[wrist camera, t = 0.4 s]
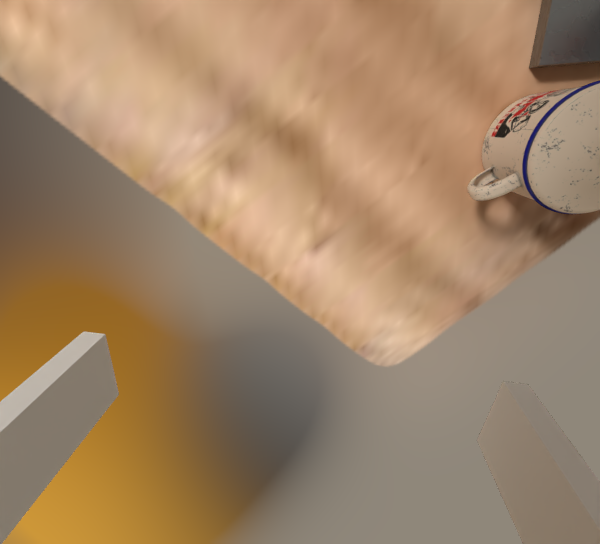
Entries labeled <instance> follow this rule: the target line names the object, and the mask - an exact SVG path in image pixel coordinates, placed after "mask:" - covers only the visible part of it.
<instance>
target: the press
mask: <svg viewBox="0 0 600 544" xmlns="http://www.w3.org/2000/svg"><path fill="white" fill-rule="evenodd" d="M599 62H600V0H542V4H541V9H540V15H539V20H538V25H537V30H536V35H535V40H534V45H533V51H532V56H531V61H530V66H529V68H538V67H550V66H562V65H574V64H587V63H599Z"/></svg>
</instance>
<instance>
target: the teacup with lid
mask: <svg viewBox="0 0 600 544" xmlns="http://www.w3.org/2000/svg"><path fill="white" fill-rule="evenodd" d="M482 163H483V167H484V170H485V171H483V172H481V173H480V174H478V175H477V176H475V177H474V178H473V179H472V180H471V181H470V183H469V184H468V188H467V189H468V193H469V195H470V197H471V198H472V199H474V200H477V201H485V200H490V199H494V198H497V197H500V196H503V195H505V194H507V193H509V192H514V193H516V194H519V195H522V196H524V197H527V198H529V199H532V200H535V201H536V202H537V203H539V204H540V205H541V206H543V207H545V208H547V209H549V210H551V211H554V212H558V213H564V214H581V213H589V212H594V211H598V210H600V81H596V82H593V83H590V84H588V85H585V86H583V87H578V88H571V89H564V90H557V91H550V92H544V93H537V94H532V95H529V96H526V97H524V98H521V99H519V100H518V101H516V102H514V103H513V104H511V105H510V106H508V107H507V108H506V109H505V110H503V111H502V112H501V113H500V114H499V115H498V117H497V118H496V119H495V120H494V122H493V123H492V125H491V126H490V128H489V130H488V132H487V134H486V136H485V139H484V142H483V147H482ZM492 181H493V182H494V183H492V184H489V183H490V182H492ZM487 184H489V185H487ZM485 185H486V186H485Z"/></svg>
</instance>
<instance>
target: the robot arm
mask: <svg viewBox="0 0 600 544" xmlns="http://www.w3.org/2000/svg"><path fill="white" fill-rule="evenodd" d="M118 395H119V393H118V388H117V384H116V379H115V375H114V371H113V366H112V362H111V357H110V353H109V349H108V344H107V340H106V336H105V334H100V333H91V332H83V333H82V334H80V335H79V336H78V337H77V338H75V339H74V340H73V341H72V342H71V343H70V344H68V345H67V346H66V347H65V348H64V349H63V350H61V351H60V352H59V353H58V354H56V356H54V357H53V358H52V359H51V360H49V361H48V362H47V363H46V364H45V365H43V366H42V367H41V368H40V369H39V370H38V371H36V372H35V373H34V374H33V375H32V376H30V377H29V378H28V379H27V380H26V381H24V382H23V383H22V384H21V385H20V386H19V387H17V388H16V389H15V390H14V391H13V392H11V393H10V394H9V395H8V396H7V397H5V398H4V399H3V400H2V401H1V402H0V544H2V543H3V541H4V540H5V539H6V538H7V536H8V535H9V534H10V532H11V531H12V530H13V529H14V527H15V526H16V525H17V524H18V522H19V521H20V520H21V518H22V517H23V516H24V515H25V513H26V512H27V511H28V510H29V508H30V507H31V506H32V504H33V503H34V502H35V501H36V499H37V498H38V497H39V496H40V494H41V493H42V492H43V490H44V489H45V488H46V487H47V485H48V484H49V483H50V482H51V480H52V479H53V478H54V476H55V475H56V474H57V473H58V471H59V470H60V469H61V468H62V466H63V465H64V464H65V462H66V461H67V460H68V459H69V457H70V456H71V455H72V453H73V452H74V451H75V450H76V448H77V447H78V446H79V445H80V443H81V442H82V441H83V439H84V438H85V437H86V436H87V434H88V433H89V432H90V431H91V429H92V428H93V427H94V425H95V424H96V423H97V422H98V420H99V419H100V418H101V417H102V415H103V414H104V413H105V411H106V410H107V409H108V408H109V406H110V405H111V404H112V403H113V401H114V400H115V399H116V397H117V396H118ZM477 442H478V444H479V447H480V449H481V451H482V453H483V455H484V458H485V460H486V462H487V464H488V467H489V469H490V471H491V473H492V476H493V478H494V480H495V482H496V485H497V487H498V489H499V491H500V494H501V496H502V498H503V500H504V502H505V505H506V507H507V509H508V511H509V514H510V516H511V518H512V520H513V523H514V525H515V527H516V529H517V532H518V534H519V536H520V538H521V540H522V543H523V544H600V481H599V480H598V479H597V477H596V476H595V474H594V473H593V472H592V470H591V469H590V468H589V466H588V465H587V464H586V462H585V461H584V460H583V458H582V457H581V455H580V454H579V453H578V451H577V450H576V449H575V447H574V446H573V445H572V443H571V442H570V440H569V439H568V438H567V437H566V435H565V434H564V432H563V431H562V430H561V428H560V427H559V426H558V424H557V423H556V422H555V420H554V419H553V417H552V416H551V415H550V413H549V412H548V411H547V409H546V408H545V407H544V405H543V404H542V402H541V401H540V400H539V398H538V397H537V396H536V394H535V393H534V392H533V390H532V389H531V387H530V386H529V385H528V384H522V383H514V382H505V381H504V382H503V383H502V385H501V387H500V390H499V392H498V394H497V396H496V398H495V401H494V403H493V405H492V407H491V410H490V412H489V414H488V416H487V419H486V421H485V423H484V425H483V428H482V430H481V432H480V434H479V437H478V439H477Z"/></svg>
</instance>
